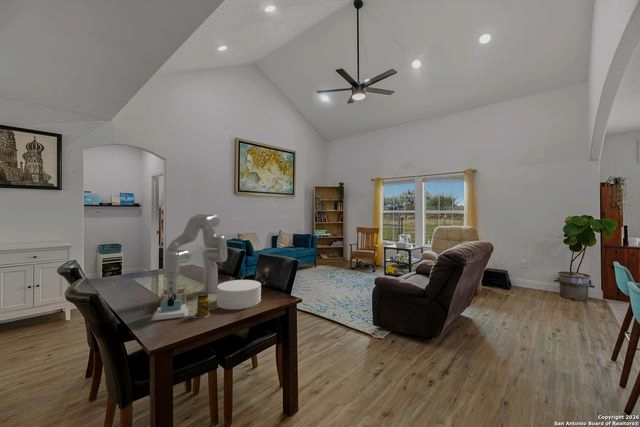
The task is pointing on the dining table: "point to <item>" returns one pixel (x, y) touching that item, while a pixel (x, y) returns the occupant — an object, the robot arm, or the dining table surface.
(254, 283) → the plate stack
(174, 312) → the lid
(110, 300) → the dining table surface
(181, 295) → the crate
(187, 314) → the mat
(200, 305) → the condiment
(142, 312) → the dining table surface
